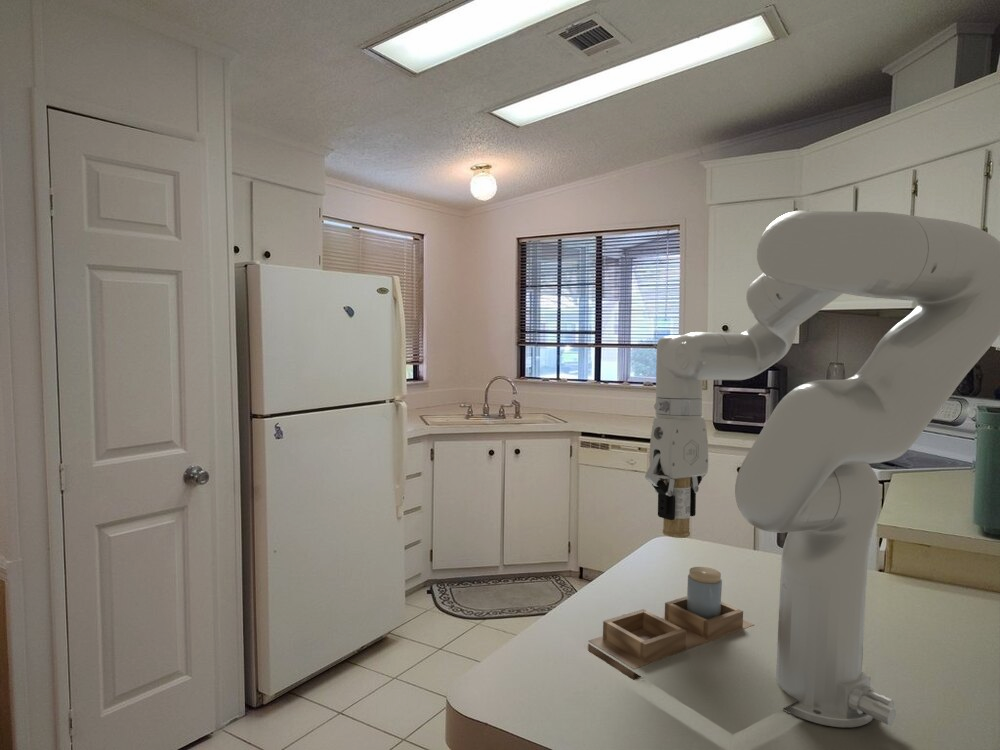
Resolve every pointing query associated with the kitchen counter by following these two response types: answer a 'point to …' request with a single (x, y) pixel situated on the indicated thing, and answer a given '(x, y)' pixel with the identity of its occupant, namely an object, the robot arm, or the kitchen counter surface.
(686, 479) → the sprinkles bottle
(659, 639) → the spice rail
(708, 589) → the spice pot
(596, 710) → the kitchen counter surface
